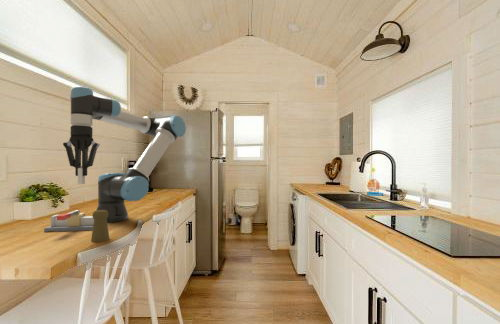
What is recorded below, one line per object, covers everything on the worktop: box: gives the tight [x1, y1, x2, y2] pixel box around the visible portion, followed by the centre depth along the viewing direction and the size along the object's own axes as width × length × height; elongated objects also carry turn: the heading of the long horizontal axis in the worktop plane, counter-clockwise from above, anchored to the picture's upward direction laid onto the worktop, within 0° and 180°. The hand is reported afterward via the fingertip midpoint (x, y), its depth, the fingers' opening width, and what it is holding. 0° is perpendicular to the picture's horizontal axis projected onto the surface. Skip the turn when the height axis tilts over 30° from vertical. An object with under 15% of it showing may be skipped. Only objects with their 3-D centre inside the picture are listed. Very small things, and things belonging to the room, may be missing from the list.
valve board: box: [43, 212, 94, 233], centre depth 116 cm, size 20×10×6 cm, turn 99°
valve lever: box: [57, 209, 81, 220], centre depth 110 cm, size 3×14×2 cm, turn 9°
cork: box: [90, 209, 110, 243], centre depth 99 cm, size 6×6×11 cm
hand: (81, 184), depth 107 cm, fingers closed
